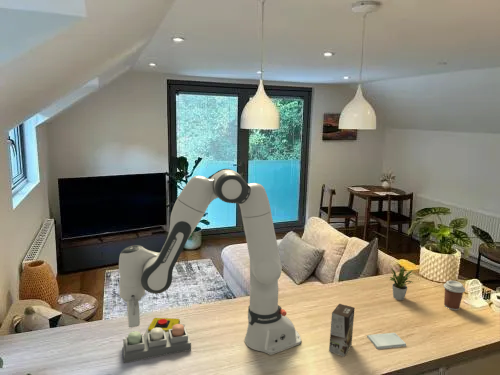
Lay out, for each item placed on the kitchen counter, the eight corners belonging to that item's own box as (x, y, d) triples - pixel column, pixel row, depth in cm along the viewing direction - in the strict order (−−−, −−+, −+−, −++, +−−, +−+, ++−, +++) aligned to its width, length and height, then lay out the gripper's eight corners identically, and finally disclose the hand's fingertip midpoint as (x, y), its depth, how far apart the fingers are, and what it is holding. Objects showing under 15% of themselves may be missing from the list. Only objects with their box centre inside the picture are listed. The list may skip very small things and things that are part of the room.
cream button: (162, 333, 142) (161, 326, 141) (163, 340, 138) (163, 332, 137) (150, 335, 140) (150, 328, 140) (151, 342, 136) (151, 335, 135)
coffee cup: (465, 307, 176) (468, 284, 174) (457, 313, 170) (461, 289, 168) (445, 300, 183) (448, 277, 181) (437, 306, 177) (440, 282, 175)
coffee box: (345, 357, 137) (348, 317, 134) (328, 351, 140) (331, 312, 137) (352, 345, 144) (355, 307, 142) (336, 339, 148) (339, 302, 145)
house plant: (421, 306, 176) (424, 274, 173) (392, 305, 176) (395, 273, 173) (408, 292, 190) (412, 262, 187) (382, 291, 190) (384, 262, 187)
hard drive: (394, 332, 152) (366, 334, 150) (406, 343, 144) (377, 346, 142) (394, 335, 153) (366, 338, 150) (405, 347, 145) (377, 350, 142)
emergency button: (150, 314, 156) (185, 315, 155) (150, 324, 157) (185, 325, 156) (143, 326, 147) (180, 328, 146) (143, 336, 148) (180, 338, 147)
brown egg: (182, 330, 144) (182, 323, 144) (184, 336, 140) (184, 329, 140) (171, 332, 143) (171, 325, 142) (173, 338, 139) (173, 331, 138)
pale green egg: (140, 337, 139) (140, 330, 138) (141, 344, 135) (141, 336, 134) (128, 339, 137) (128, 332, 137) (128, 346, 133) (128, 339, 133)
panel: (186, 335, 148) (186, 323, 147) (191, 349, 139) (191, 337, 138) (123, 346, 140) (122, 334, 139) (124, 362, 131) (123, 350, 130)
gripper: (143, 302, 124) (144, 339, 126) (139, 277, 143) (140, 310, 145) (123, 304, 122) (124, 342, 124) (122, 279, 140) (123, 312, 143)
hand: (133, 325), depth 135 cm, fingers closed
